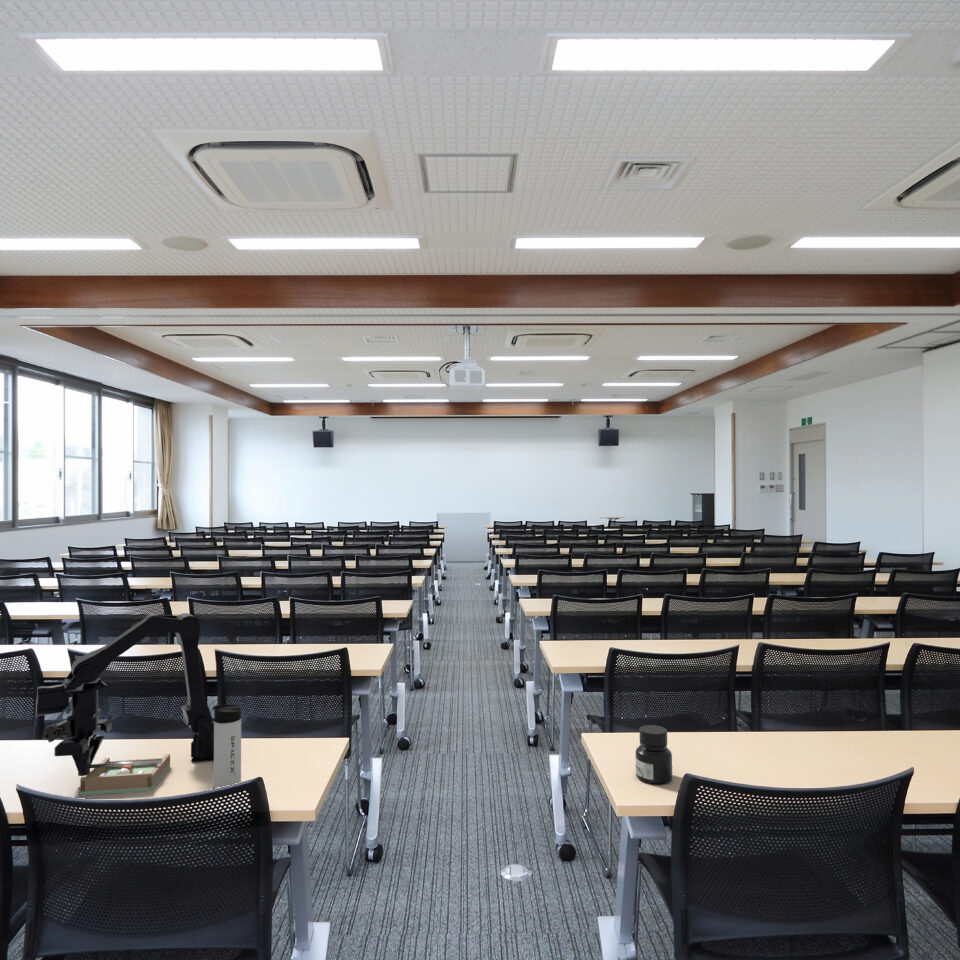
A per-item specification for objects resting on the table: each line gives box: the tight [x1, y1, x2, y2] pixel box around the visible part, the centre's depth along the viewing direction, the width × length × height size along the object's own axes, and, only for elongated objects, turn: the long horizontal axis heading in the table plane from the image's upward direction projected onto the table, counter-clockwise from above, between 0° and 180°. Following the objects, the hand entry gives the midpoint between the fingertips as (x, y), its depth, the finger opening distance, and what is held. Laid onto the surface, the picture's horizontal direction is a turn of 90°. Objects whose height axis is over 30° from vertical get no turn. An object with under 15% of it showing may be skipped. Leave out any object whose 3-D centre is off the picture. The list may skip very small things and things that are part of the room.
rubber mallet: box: [77, 759, 162, 777], centre depth 169 cm, size 20×3×6 cm, turn 99°
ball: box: [116, 768, 130, 775], centre depth 166 cm, size 3×3×3 cm
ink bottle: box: [635, 724, 673, 785], centre depth 168 cm, size 10×9×12 cm
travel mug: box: [212, 704, 242, 789], centre depth 164 cm, size 6×7×20 cm
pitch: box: [79, 753, 171, 796], centre depth 169 cm, size 16×15×4 cm
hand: (84, 771), depth 167 cm, fingers closed on rubber mallet, 3 cm apart
